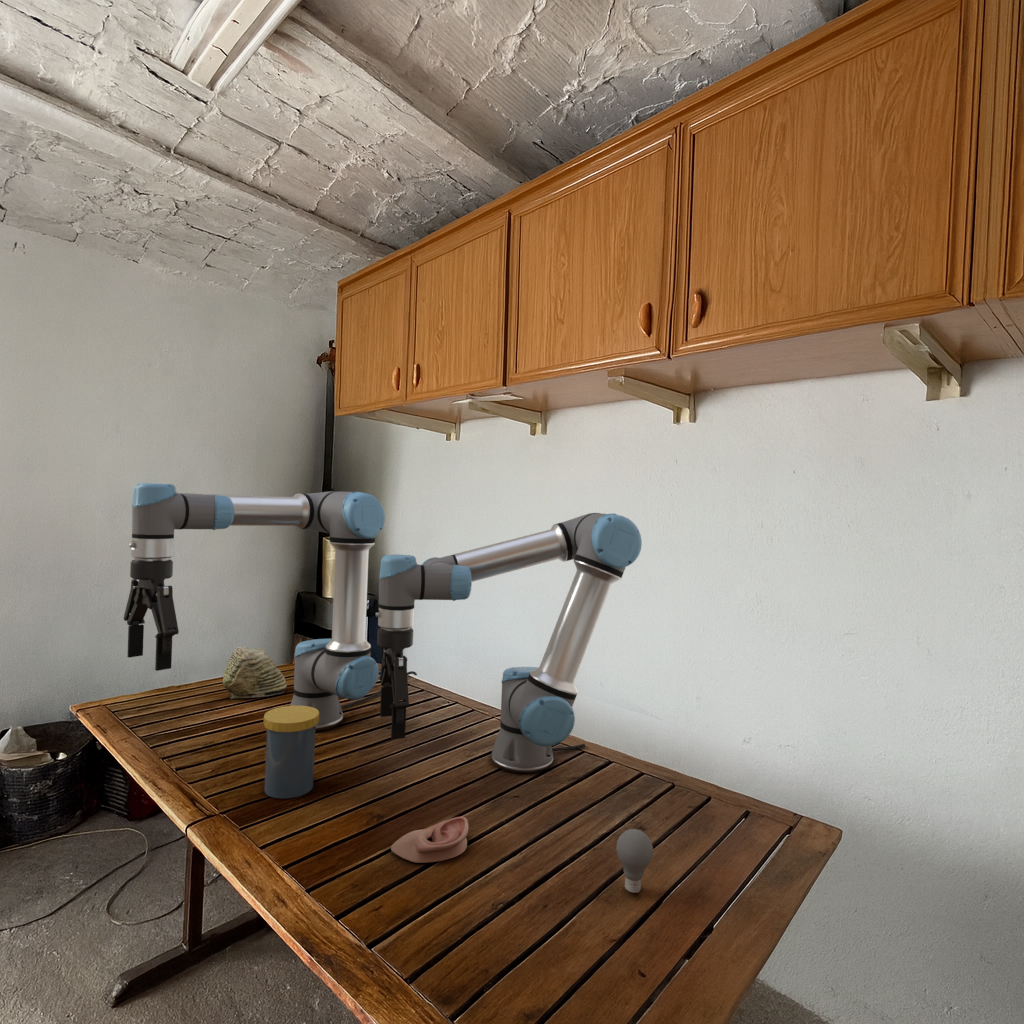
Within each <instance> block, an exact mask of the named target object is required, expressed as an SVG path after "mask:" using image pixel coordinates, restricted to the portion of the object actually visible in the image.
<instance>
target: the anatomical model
mask: <svg viewBox="0 0 1024 1024" xmlns="http://www.w3.org/2000/svg"><path fill="white" fill-rule="evenodd" d="M468 833H469V821H468V819H467V817H465V816H455V817H452V818H448V819H445V820H443V821H440V822H438V823H436V824H434V825H431V826H429V827H427V828H424V829H416V830H413V831H410V832H408V833H406V834H404V835H402V836H401V837H399V838H398V839H397V840H396V841H394V843H393V844H392V845H391V847H390V851H391V852H392V853H393V854H395V855H396V856H398V857H400V858H401V859H404V860H407V861H408V862H411V863H417V864H427V863H434V862H442V861H446V860H450V859H454V858H455V857H458V856H460V855H462V854H463V853H464V852H465V851H466V849H467V847H468V838H467V836H468Z"/></svg>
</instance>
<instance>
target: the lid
mask: <svg viewBox="0 0 1024 1024" xmlns="http://www.w3.org/2000/svg"><path fill="white" fill-rule="evenodd" d="M262 722H263V723H262V724H263V728H265V729H266V730H267V729H268V730H271V731H276V732H296V731H302V730H306V729H309V728H312V727H314V726H315V725H317V724H318V722H319V711H318V710H317V709H315V708H313V707H309V706H290V705H285V706H279V707H275V708H272V709H270V710H268V711H266V712H265V713H264V715H263V721H262Z"/></svg>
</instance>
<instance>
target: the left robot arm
mask: <svg viewBox="0 0 1024 1024" xmlns="http://www.w3.org/2000/svg"><path fill="white" fill-rule="evenodd" d="M385 515H386V513H385V511H384V508H383V505H382V503H381V502H380V501H379V500H378V498H377V497H375V495H373V494H370V493H367V492H363V491H362V492H361V491H337V490H336V491H335V490H333V491H332V490H330V491H321V492H311V493H295V494H294V495H293V496H276V495H275V496H274V495H273V496H272V495H248V494H247V495H246V494H244V495H243V494H220V493H219V494H218V493H217V494H216V493H215V494H214V493H189V492H187V493H186V492H177V491H176V486H175V485H174V484H173V483H152V482H139V483H137V484H136V485H135V486H134V488H133V492H132V501H131V520H132V521H131V542H130V543H128V547H129V548H130V549H131V550H130V556H131V558H133V559H132V560H131V561H130V567H129V568H130V571H129V574H130V575H129V576H130V578H131V581H130V590H129V594H128V598H127V603H126V607H125V610H124V615H123V621H124V622H126V624H127V626H128V629H127V630H128V631H127V658H135V657H142V656H144V635H145V634H144V630H145V625H144V624H145V623H146V621H145V619H144V618H145V616H146V615H147V612H148V609H149V610H151V613H152V618H153V620H154V624H155V627H156V631H157V633H156V635H155V636H154V638H155V661H154V663H155V665H154V668H155V669H154V670H155V671H157V672H159V671H164V670H169V669H172V659H173V657H172V655H173V637H175V636H176V635H179V632H180V631H179V625H178V619H177V615H176V614H177V613H176V609H175V603H174V597H173V595H174V593H173V585H165V580H167V579H171V578H172V577H173V575H174V573H173V572H174V561H173V560H172V559H171V558H173V557H174V554H175V553H174V552H175V530H213V531H215V530H224V529H228V528H230V526H233V527H234V526H237V527H238V526H240V527H243V526H246V527H247V526H249V527H250V526H258V527H259V526H268V527H269V526H276V527H277V526H282V527H284V526H285V527H286V526H287V527H288V526H289V527H290V526H291V527H293V528H294V529H296V530H308V531H309V530H310V531H316V532H319V533H325V534H329V544H330V545H331V546H332V547H333V548H334V550H335V551H334V572H333V573H334V577H333V599H332V625H331V626H332V627H331V638H317V639H308V640H304V641H300V642H299V643H297V645H296V646H295V650H294V655H293V657H294V672H293V673H294V674H293V695H292V696H293V697H292V699H291V702H290V704H289V706H309V707H313V708H315V709H317V710H318V711H319V722H318V724H317V725H316V733H317V732H325V731H329V730H332V729H335V728H337V727H339V726H340V725H342V723H343V722H344V713H343V709H345V708H349V707H351V706H354V705H357V704H360V703H363V702H366V701H369V700H372V699H374V698H376V697H378V696H379V695H381V689H380V690H378V691H377V692H375V693H373V694H371V695H369V696H367V695H368V694H370V692H371V690H372V689H374V687H375V685H376V683H377V682H378V680H379V679H378V678H379V675H380V672H379V671H380V670H379V669H380V668H379V665H378V663H377V662H376V660H375V659H374V657H371V652H372V649H371V648H372V644H371V643H370V642H368V640H367V639H366V631H367V607H368V606H367V605H368V604H367V602H368V582H369V581H368V579H369V555H370V553H369V552H370V550H371V548H372V547H374V545H375V544H376V536H378V535H379V534H380V533H381V530H383V528H384V526H385V522H386V521H385V520H386V516H385ZM409 675H414V676H417V675H418V674H417V672H416V671H412V670H411V671H407V676H409ZM365 696H367V697H365ZM339 698H341V699H342V700H343V699H344V700H348V701H349V700H350V701H352V702H349V703H346V704H345V703H344V704H341V702H340V699H339Z"/></svg>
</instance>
